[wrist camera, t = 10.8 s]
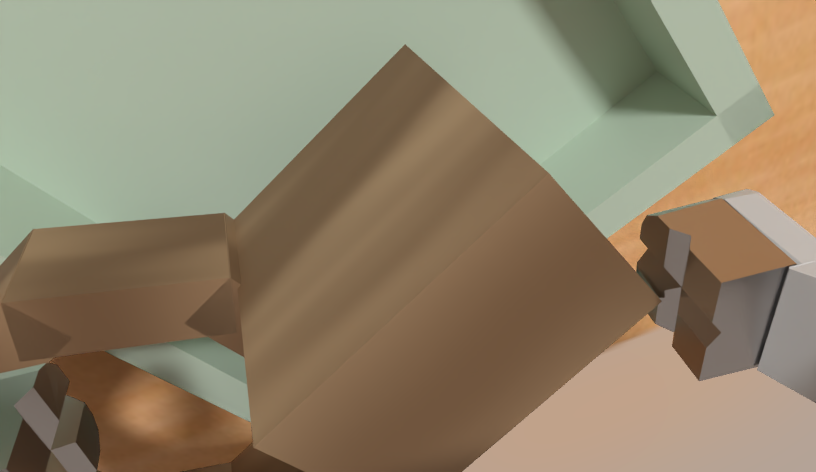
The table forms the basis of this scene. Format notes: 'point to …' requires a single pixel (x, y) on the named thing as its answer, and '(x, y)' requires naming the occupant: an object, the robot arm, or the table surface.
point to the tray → (328, 93)
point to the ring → (354, 287)
